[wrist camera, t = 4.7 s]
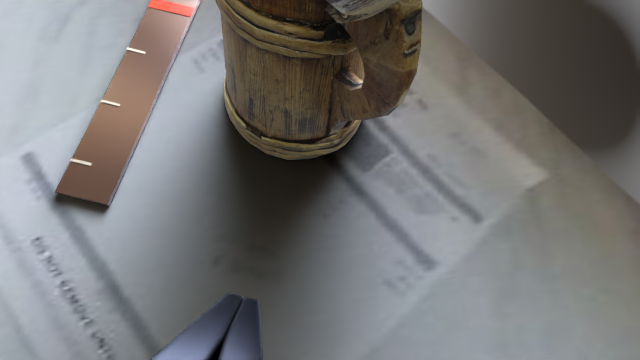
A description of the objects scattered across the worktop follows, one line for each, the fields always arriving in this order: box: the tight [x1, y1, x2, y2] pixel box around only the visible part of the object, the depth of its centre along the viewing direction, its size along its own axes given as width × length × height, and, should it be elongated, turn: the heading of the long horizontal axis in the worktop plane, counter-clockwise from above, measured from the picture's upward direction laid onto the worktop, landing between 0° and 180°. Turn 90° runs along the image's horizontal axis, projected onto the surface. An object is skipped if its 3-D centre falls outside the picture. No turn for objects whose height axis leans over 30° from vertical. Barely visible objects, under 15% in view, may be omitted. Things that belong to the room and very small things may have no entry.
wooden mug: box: [216, 0, 422, 160], centre depth 12 cm, size 9×14×18 cm, turn 31°
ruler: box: [55, 0, 201, 206], centre depth 21 cm, size 20×3×1 cm, turn 167°
